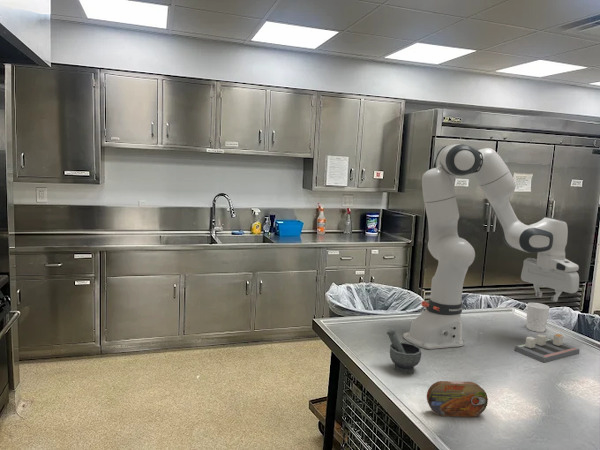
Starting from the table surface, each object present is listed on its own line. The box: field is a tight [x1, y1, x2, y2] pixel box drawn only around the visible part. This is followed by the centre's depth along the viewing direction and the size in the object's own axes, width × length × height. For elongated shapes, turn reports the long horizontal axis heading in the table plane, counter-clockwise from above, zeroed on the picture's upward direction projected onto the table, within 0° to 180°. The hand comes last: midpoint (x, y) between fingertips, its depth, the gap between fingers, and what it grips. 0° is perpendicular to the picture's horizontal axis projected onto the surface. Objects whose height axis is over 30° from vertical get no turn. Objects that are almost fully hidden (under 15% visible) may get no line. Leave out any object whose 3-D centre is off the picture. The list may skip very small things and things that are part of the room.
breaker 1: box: [524, 336, 537, 348], centre depth 159 cm, size 2×2×3 cm
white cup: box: [525, 302, 550, 333], centre depth 183 cm, size 8×8×10 cm
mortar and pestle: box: [386, 328, 422, 375], centre depth 140 cm, size 11×9×12 cm
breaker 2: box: [535, 334, 547, 346], centre depth 162 cm, size 2×2×3 cm
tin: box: [426, 380, 489, 418], centre depth 115 cm, size 15×3×8 cm, turn 90°
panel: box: [514, 338, 580, 363], centre depth 160 cm, size 20×11×2 cm, turn 119°
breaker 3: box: [553, 333, 564, 346], centre depth 162 cm, size 2×2×4 cm
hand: (546, 298), depth 166 cm, fingers open, 5 cm apart
